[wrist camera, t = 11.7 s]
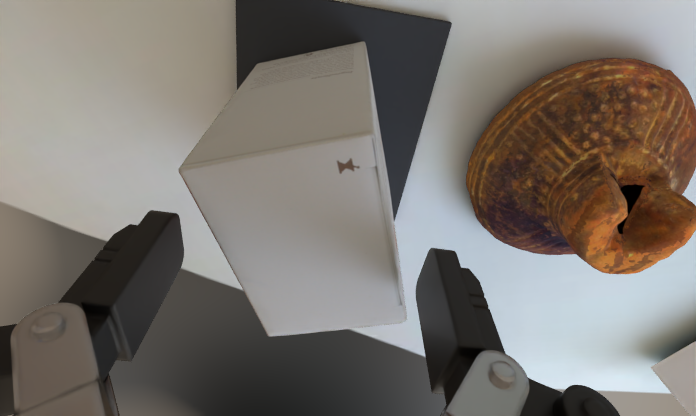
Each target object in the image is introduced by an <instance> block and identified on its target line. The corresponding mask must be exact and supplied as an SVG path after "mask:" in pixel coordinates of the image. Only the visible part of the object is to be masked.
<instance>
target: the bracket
mask: <svg viewBox="0 0 696 416" xmlns="http://www.w3.org/2000/svg"><path fill="white" fill-rule="evenodd" d="M651 369H652V370H653V371H654V372H655V374H656V375H657V376H658V377H659V378H660V380H661V381H662V382H663V383H664V384H665V386H666V387H667V388H668V389H669V390H670V392H671V393H672V394H673V395H674V397H675V398H676V399H677V400H678V401H679V403H680V404H681V405H682V406H683V407H684V408H685V410H686V411H687V412H688V413H689V415H690V416H696V341H695V342H693V343H692V344H690V345H688V346H686V347H685V348H683V349H681V350H679V351H678V352H676V353H674V354H672V355H671V356H669V357H667V358H666V359H664V360H662V361H660V362H659V363H657V364H655V365H653V366H652V367H651Z"/></svg>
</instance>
